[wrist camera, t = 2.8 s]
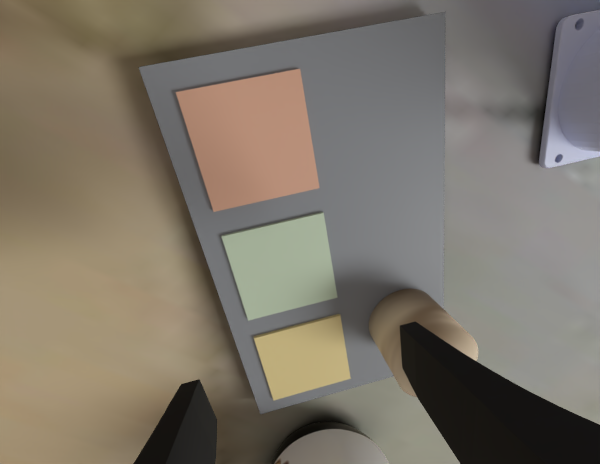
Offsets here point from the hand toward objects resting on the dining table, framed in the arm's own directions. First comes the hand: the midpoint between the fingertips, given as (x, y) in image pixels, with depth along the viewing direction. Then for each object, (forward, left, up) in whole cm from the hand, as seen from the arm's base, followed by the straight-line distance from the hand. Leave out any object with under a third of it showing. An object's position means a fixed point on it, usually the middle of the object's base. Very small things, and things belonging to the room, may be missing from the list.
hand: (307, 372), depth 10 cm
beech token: (-7, +6, -7) cm, 12 cm away
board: (-3, 0, -8) cm, 9 cm away
